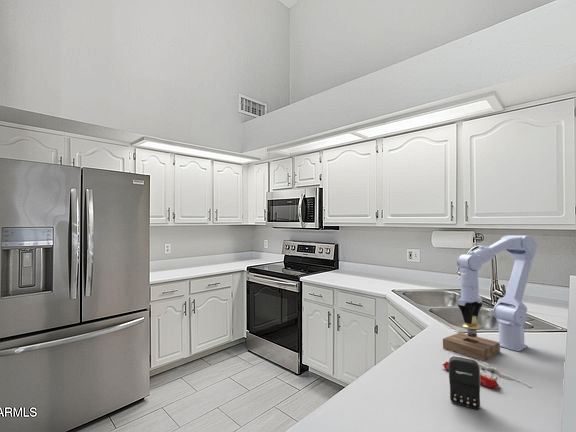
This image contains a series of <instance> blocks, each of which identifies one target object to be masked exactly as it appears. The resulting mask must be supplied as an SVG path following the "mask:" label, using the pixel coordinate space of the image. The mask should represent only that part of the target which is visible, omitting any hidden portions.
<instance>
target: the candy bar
mask: <svg viewBox="0 0 576 432" xmlns="http://www.w3.org/2000/svg"><path fill="white" fill-rule="evenodd" d="M442 366H443V367H444V369H445V370H447V371H449V361H445V362H444V363H443V364H442ZM493 378H494V377H492V376H491V377H489V376H486V374H484V373H481V372H480V385H483V386H484V387H487V388H492V389H493V388H495V389H496V388H498V387H497V386H499V387H500V385H499V384H498V381H497V379H493Z"/></svg>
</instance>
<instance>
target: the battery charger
mask: <svg viewBox="0 0 576 432" xmlns="http://www.w3.org/2000/svg"><path fill="white" fill-rule="evenodd" d="M448 362H449V370H448V379H449V380H448V381H449V400H450V402H451V403H453V404H455V405H458V406H462V407H466V408H470V409H472V410H473V409H474V410H479V409H480V408H481V384H480V373H481V369H480V367H479V364H478V361H477V360H475V358H472V357H466V356H461V355H452V356H450V357H449V360H448Z"/></svg>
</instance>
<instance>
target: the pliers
mask: <svg viewBox="0 0 576 432" xmlns="http://www.w3.org/2000/svg"><path fill="white" fill-rule="evenodd" d="M477 362H478V361H477ZM478 364H479V367H480V370H484V372H485V375H486V376H489V377H491V378H493V379H495V380H497V376H498V377H499V378H502V379H506V380H510V381H515V382H518V383H519V384H521V385H523V386H525V387H527V388H529V389H532V386H531V385H530V384H528V383H527V382H525V381H523V380H521V379H519V378H516V377H515V376H513V375H510V374H507V373H502V372H501V371H500V370H498V369H497V368H496V367H494V366H491V364H489V363H487V362H486V361H482V362H478ZM493 372H494V374H495V375H494V377H492V374H493ZM499 386H500V385H499ZM499 386H497V387H496V388H498V389H502V386H500V387H499Z"/></svg>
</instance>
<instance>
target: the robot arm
mask: <svg viewBox="0 0 576 432" xmlns="http://www.w3.org/2000/svg"><path fill="white" fill-rule="evenodd" d="M537 247H538V243H537V241H536V239H535V238H534V236H532V235H530V234H529V235H528V234H526V235H512V234H511V235H510V234H506V235H504V236H502V237H500V239H499V240H498V241H496V242H494V243H492V244H491V245H489V246H487V245H486V246H485V245H479V246H478V247H477V248H476V249H475V250H471V251H469V253H467V254H464V253H463V254H461V255H459V257H458V258H457V260H456V265H457V267H458V269H459V273H460V297H459V298H458V299H457V306H458V308H459V310H460V312H461V315H462V318H463V319H462V320H463V322H464V324H465V323H468V324H471V323H472V316H473V315H475V316H476V319H477V320H478V318H479V313H480V310H481V308H482V307H483V303H482V302H483V299H482V296H481V295H480V293H479V270H480V269H481V268H482V267H483V265H484V264H486V263H489V262H490V261H491V260H493V259H494V257H495V255H496V254H499V253H501V252H503V251H506V252H507V253H508V254H509V255H510V257H512V258H513V259H514V263H513V267H512V271H511V275H510V278H509V282H508V284H507V288H506V292H505V295H504V296H503V297H500V298H498V299H497V302H496V304H495V305H494V307H493V308H492V313H493V316H494V318H496V322H498V342H500V348H505V349H508V350H511V351H512V350H513V351H515V352H520V351H523V350H524V349H526V348H527V347H529V346H528V344H526V343H525V329H524V327H523V326H524V325H525V323H526V322H527V319H528V315H527V314H528V313H527V312H528V311H527V310H528V308H527V305H525V304H524V303H523V302H522V300H523V299H524V294H525V290H526V286H527V284H528V280H529V276H530V273H531V269H532V266H533V265H532V264H533V262H534V257H535V255H536V252H537Z"/></svg>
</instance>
